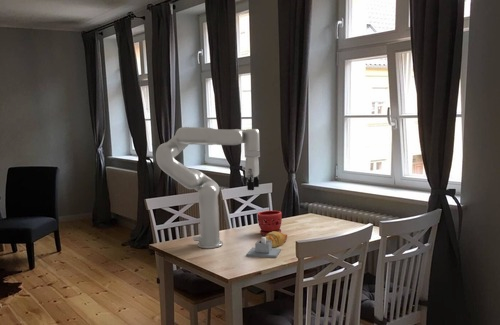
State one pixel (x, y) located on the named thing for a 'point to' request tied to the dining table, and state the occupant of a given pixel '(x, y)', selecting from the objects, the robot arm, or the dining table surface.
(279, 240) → the croissant
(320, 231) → the dining table surface
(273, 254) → the keeper
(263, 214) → the plant pot
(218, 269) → the dining table surface
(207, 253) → the dining table surface
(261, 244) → the grey hollow block
